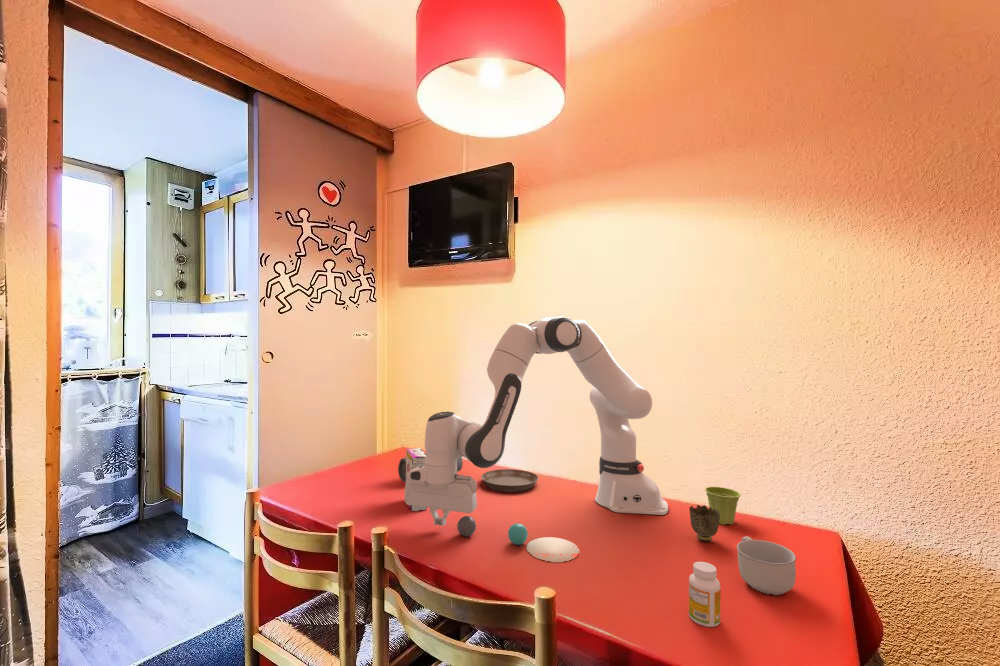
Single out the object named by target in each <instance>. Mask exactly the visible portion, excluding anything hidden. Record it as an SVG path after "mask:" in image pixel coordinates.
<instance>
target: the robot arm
mask: <svg viewBox="0 0 1000 666" xmlns="http://www.w3.org/2000/svg"><path fill="white" fill-rule="evenodd" d="M564 352H565V353H566V352H567V353H568V355H569V356H570V358H571V360H572V361H573V363H574V364H575V366H576V367H577V368H578V370H579V372H580V373H581V375H582V376H583V377H584V379H585V381H587V382H588V384H590V385H592V387H591V388H590V391H589V400H590V403H591V404H592V407H593V408H594V410H595V413H596V417H597V421H598V425H599V430H600V456H599V460H598V474H599V481H598V482H599V483H598V488H597V493H596V494H595V499H594V500H595V502H596V503H597V504H599V505H600V506H603V507H604V508H607V509H609V510H610V511H612V512H615V513H622V514H623V513H624V514H639V515H640V514H641V515H654V516H655V515H657V516H663V515H666V514H668V512H669V505H668V502H667V501H666V500H665V499H664V498H662V495H661V491H660V488H659V486H658V484H657V483H656V482H655V481H653V480H652V479H651V478H650V477H649V476H648V475H646V474H645V473H644V470H645V466H644V465H643V463H642V461H641V460H638V459H637V436H636V433H635V431H634V430H633V428H632V427H631V424H630V422H629V420H641V419H643V418H645V417H647V416H648V415H649V413H650V412H651V410H652V406H653V398H652V396H651V393H649V391H648V390H646V389H645V388H644V387H642V386H641V385H639V384H638V383H637V382H636V381H635V380H634V379H633V378H632V377H631V376H630V375H629V374H628V373H627V372H626V371H625V370H624V369H623V368H622V367H621V365H619V363H617V361H616V360H615V358H614V357H613V356H612V354H611V352H610V351H609V349H608V348H607V347H606V345H605V344H604V341H603V340H602V339H601V337H600V336H599V335H598V333H597V332H596V331H595V330H594V329H593V328H592V326H590V324H589V323H587V321H585V320H582V319H575V320H572V319H571V318H568V317H567V316H559V315H558V316H552V317H545V318H542V319H539V320H535V321H533V322H531V323H529V324H528V325H527V324H524V323H520V322H517V323H513V324H511V325H510V326H509V327H508V328H507V329H506V330H505V332H504V333H503V335H502V336H501V337H500V339H499V340H498V343H497V344H496V346H495V348H494V349H493V352H492V354H491V356H490V358H489V361H488V364H487V367H486V372H487V375H488V378H489V381H490V382H491V383H492V385H493V387H494V391H495V393H494V398H493V401H492V404H491V406H490V408H489V411H488V414H487V416H486V419H485V421H484V423H483V424H478V423H476V422H475V421H471V420H468V419H464V418H462V417H460V416H459V415H457V414H456V413H455V412H454V411H441V412H440V411H439V412H437V413H433V415H431V416H429V417H428V419H427V422H426V426H425V432H424V433H425V434H424V450H425V453H426V458H425V462H424V465H421V466H418V467H416V468H414V469H412V470H410V471H409V472H408V473H407V478H408V479H409V480H408V481H407V482H405V488H404V497H403V498H404V499H403V500H404V502H405V504H406V505H408V506H409V505H413V506H420V507H427V508H429V512H430V514H431V516H432V518H433V525H435V526H436V525H437V526H442V527H444V526H446V524H447V518H448V516H449V514H450V512H457V513H463V514H471V513H473V512H474V511H475V510H476V508H477V507H478V502H477V501H478V499H477V487H478V486H477V485H478V484H477V481H476V479H474V478H472V477H473V476H470V475H463V474H458V472H457V459H458V458H459V457H464V458H465V459H467V460H468V461H469V462H471V464H473V465H474V466H475V467H478V468H480V469H488V468H491V467H493V466H494V465H496V464H498V462H499V461H500V460H501V458H502V456H503V455H504V451H505V448H506V447H505V446H506V445H505V444H506V436H507V432H508V429H509V426H510V425H511V421H512V418H513V415H514V414H515V413H514V412H515V410H516V407H517V404H518V403H519V398H520V395H521V391H522V382H523V379H524V376H525V373H526V372H527V369H528V367H529V365H530V364H531V363H530V362H531V360H532V358H533V356H535V354H539V355H540V354H542V355H543V354H544V355H553V354H556V353H564ZM437 510H441V513H442V514H443V515H442V516H439V513H438V511H437Z"/></svg>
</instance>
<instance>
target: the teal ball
mask: <svg viewBox="0 0 1000 666" xmlns="http://www.w3.org/2000/svg"><path fill="white" fill-rule="evenodd" d="M507 532H508V533H507V537H508V539H509V541H510V542H511V543H512V544H513V545H516V546H520V545H523V544H524V543H525V542H526V541H527V539H528V536H529V534H528V532H529V531H528V530H527V527H526V526H525V525H524V524H522V523H519V522H516V523H513V524H512V525H511V526H510V527H509V529H508V531H507Z"/></svg>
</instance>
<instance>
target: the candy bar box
mask: <svg viewBox="0 0 1000 666" xmlns="http://www.w3.org/2000/svg"><path fill="white" fill-rule="evenodd" d="M425 453H426V452H424V450H422V448H421V447H417V448H416V447H415V448H406V449H405V458H406V482H407V481H408V480H409V479H408V478H407V473H408V472H409V471H410V470H412V469H414V468H416V467H418V466H421V465H424V462H425V458H426V454H425ZM406 482H405V483H406ZM408 508H409V509H410V511H411V512H412V511H416V512H419V511H418V510H422V511H427V510H428V509H427V507H420V506H413V505H408Z"/></svg>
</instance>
